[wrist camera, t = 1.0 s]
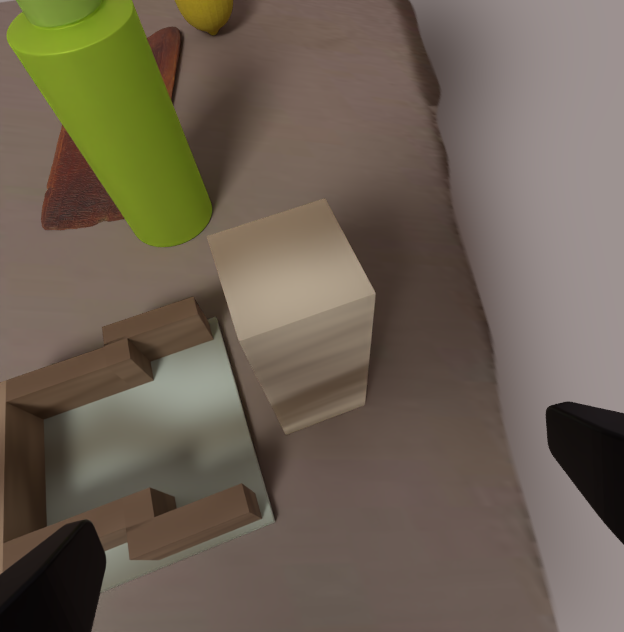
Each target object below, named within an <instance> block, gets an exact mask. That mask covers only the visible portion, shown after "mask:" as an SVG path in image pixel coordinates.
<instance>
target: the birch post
mask: <svg viewBox="0 0 624 632" xmlns="http://www.w3.org/2000/svg"><path fill="white" fill-rule="evenodd" d="M207 239H208V242H209V246H210V249H211V252H212V255H213V259H214V262H215V265H216V268H217V272H218V275H219V278H220V281H221V285H222V288H223V291H224V294H225V298H226V301H227V304H228V307H229V311H230V314H231V317H232V321H233V324H234V327H235V330H236V334H237V337H238V340H239V343H240V345H241V347H242V349H243V351H244V353H245V355H246V357H247V359H248V361H249V363H250V365H251V367H252V369H253V371H254V373H255V375H256V377H257V379H258V380H259V382H260V384H261V386H262V388H263V390H264V392H265V394H266V396H267V398H268V400H269V402H270V404H271V406H272V408H273V410H274V412H275V414H276V416H277V418H278V420H279V422H280V424H281V426H282V428H283V430H284V432H285V434H286V435H288V434H290V433H293V432H296V431H298V430H301V429H303V428H306V427H309V426H311V425H314V424H316V423H319V422H322V421H324V420H327V419H330V418H332V417H335V416H337V415H340V414H343V413H345V412H348V411H350V410H353V409H356V408H358V407H361V406H364V405H365V399H366V389H367V378H368V368H369V358H370V347H371V337H372V326H373V316H374V305H375V295H376V293H375V291H374V289H373V287H372V285H371V284H370V282H369V280H368V278H367V276H366V274H365V272H364V270H363V269H362V267H361V265H360V263H359V261H358V259H357V257H356V255H355V254H354V252H353V250H352V248H351V246H350V244H349V242H348V240H347V239H346V237H345V235H344V233H343V231H342V229H341V227H340V225H339V224H338V222H337V220H336V218H335V216H334V214H333V212H332V210H331V209H330V207H329V205H328V203H327V201H326V199H325V198H324V199H321V200H318V201H315V202H312V203H309V204H305V205H302V206H299V207H296V208H293V209H290V210H287V211H284V212H281V213H278V214H274V215H271V216H268V217H265V218H262V219H259V220H256V221H253V222H250V223H246V224H243V225H240V226H237V227H234V228H231V229H228V230H225V231H222V232H219V233H215V234H212V235H209V236H207Z"/></svg>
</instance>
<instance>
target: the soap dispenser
mask: <svg viewBox="0 0 624 632" xmlns="http://www.w3.org/2000/svg"><path fill="white" fill-rule="evenodd" d="M16 1H17V3H18V4H19V6H20V8H21V9H22V11H23V12H22V13H20V14H19V15H18V16H17V17H16V18H15V19H14V20H13V21H12V23H11V24H10V26H9V28H8V30H7V41H8V43H9V45H10V46H11V48H12V49H13V51H14V52H15V54H16V55H17V57H18V58H19V60H20V61H21V63H22V64H23V66H24V67H25V69H26V70H27V72H28V73H29V75H30V76H31V78H32V79H33V81H34V82H35V84H36V86H37V87H38V89H39V90H40V92H41V93H42V95H43V96H44V98H45V99H46V101H47V102H48V104H49V105H50V107H51V108H52V110H53V111H54V113H55V114H56V116H57V117H58V119H59V120H60V122H61V123H62V125H63V126H64V128H65V129H66V131H67V132H68V134H69V135H70V137H71V138H72V140H73V141H74V143H75V144H76V146H77V147H78V149H79V150H80V152H81V153H82V155H83V156H84V158H85V159H86V161H87V162H88V164H89V165H90V167H91V168H92V170H93V171H94V173H95V174H96V176H97V177H98V179H99V181H100V182H101V184H102V185H103V187H104V188H105V190H106V191H107V193H108V194H109V196H110V197H111V199H112V200H113V202H114V203H115V205H116V206H117V208H118V209H119V211H120V212H121V214H122V215H123V217H124V218H125V220H126V221H127V223H128V224H129V226H130V227H131V229H132V230H133V232H134V233H135V235H136V236H137V237H138V238H139V239H140V240H141V241H142V242H144V243H146V244H148V245H151V246H156V247H170V246H176V245H179V244H182V243H185V242H187V241H189V240H191V239H192V238H194V237H195V236H197V235H198V234H199V233H200V232H201V231H202V230H203V229H204V228H205V227H206V226H207V224H208V222H209V220H210V218H211V215H212V204H211V201H210V199H209V196H208V193H207V191H206V188H205V186H204V183H203V181H202V178H201V176H200V173H199V170H198V168H197V165H196V163H195V160H194V158H193V155H192V153H191V150H190V148H189V145H188V142H187V140H186V137H185V135H184V132H183V130H182V127H181V125H180V122H179V119H178V117H177V114H176V112H175V109H174V107H173V104H172V102H171V99H170V96H169V94H168V91H167V89H166V86H165V84H164V81H163V79H162V76H161V73H160V71H159V68H158V66H157V63H156V61H155V58H154V56H153V53H152V50H151V48H150V45H149V43H148V40H147V38H146V35H145V33H144V30H143V27H142V25H141V22H140V20H139V17H138V15H137V12H136V10H135V7H134V5H133V2H132V0H16Z"/></svg>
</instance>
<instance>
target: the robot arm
mask: <svg viewBox="0 0 624 632" xmlns="http://www.w3.org/2000/svg"><path fill="white" fill-rule="evenodd" d="M546 426H547V439H548V446H549V449H550V451H551V453H552V455H553V457H554V458H555V459H556V461H557V462H558V463H559V464H560V466H561V467H562V468H563V470H564V471H565V472H566V474H567V475H568V476H569V478H570V479H571V480H572V482H573V483H574V484H575V486H576V487H577V488H578V490H579V491H580V492H581V494H582V495H583V496H584V497H585V499H586V500H587V501H588V503H589V504H590V505H591V507H592V508H593V509H594V510H595V512H596V513H597V514H598V516H599V517H600V518H601V519H602V520H603V522H604V523H605V524H606V525H607V527H608V528H609V529H610V530H611V531H612V532H613V533H614V534H615V535H616V537H617V538H618V539H619V540H620V541H621V542H622V543H623V544H624V413H620V412H615V411H611V410H606V409H601V408H596V407H592V406H588V405H582V404H578V403H573V402H563V403H559V404H555V405H551V406H549V407H548V408H547V410H546ZM105 570H106V554H105V551H104V548H103V546H102V544H101V541H100V539H99V536H98V534H97V532H96V529H95V527H94V525H93V523H92V522H91V521H90V520H87V519H84V520H80V521H76V522H72V523H68V524H65V525H64V526H62V527H61V528H60V529H58V530H57V531H56V532H54V533H53V534H52V535H51V536H49V537H48V538H47V539H45V540H44V541H43V542H41V543H40V544H39V545H38V546H36V547H35V548H34V549H32V550H31V551H30V552H29V553H27V554H26V555H25V556H23V557H22V558H21V559H19V560H18V561H17V562H16V563H14V564H13V565H12V566H10V567H9V568H8V569H6V570H5V571H4V572H3V573H1V574H0V632H91V631H92V626H93V622H94V618H95V613H96V609H97V604H98V600H99V596H100V591H101V587H102V583H103V578H104V574H105Z"/></svg>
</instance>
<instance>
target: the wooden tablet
mask: <svg viewBox="0 0 624 632" xmlns="http://www.w3.org/2000/svg"><path fill="white" fill-rule="evenodd" d="M147 40H148V43H149V45H150V48H151V50H152V53H153V56H154V58H155V61H156V63H157V66H158V68H159V71H160V73H161V76H162V79H163V81H164V84H165V86H166V89H167V91H168V94H169V96H170V99H172V92H173V87H174V83H175V74H176V68H177V63H178V58H179V52H180V46H181V36H180V31H179V30H178V28H176V27H167V28H164V29H161V30H159V31H157V32H155V33H154V34H153V35H151V36H150V37H148V38H147ZM47 189H48V190H47V191H46V193H45V198H44V202H43V207H42V216H41V223H42V227H43V228H44V229H45V230H65V229H77V228H84V227H90V226H94V225H96V224H98V223H100V222H103V221H108V222H109V221H116V220H121V219H125V218H124V217H123V215H122V214H121V212H120V211H119V209H118V208H117V206H116V205H115V203H114V202H113V200H112V199H111V197H110V196H109V194H108V193H107V191H106V190H105V188H104V187H103V185H102V184H101V182H100V181H99V179H98V177H97V176H96V174H95V173H94V171H93V170H92V168H91V167H90V165H89V164H88V162H87V161H86V159H85V158H84V156H83V155H82V153H81V152H80V150H79V149H78V147H77V146H76V144H75V143H74V141H73V140H72V138H71V137H70V135H69V134H68V132H67V131H66V129H65V128H64V126H63V125H62V128H61V132H60V135H59V139H58V143H57V148H56V152H55V156H54V160H53V164H52V167H51V172H50V176H49V180H48V183H47Z"/></svg>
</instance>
